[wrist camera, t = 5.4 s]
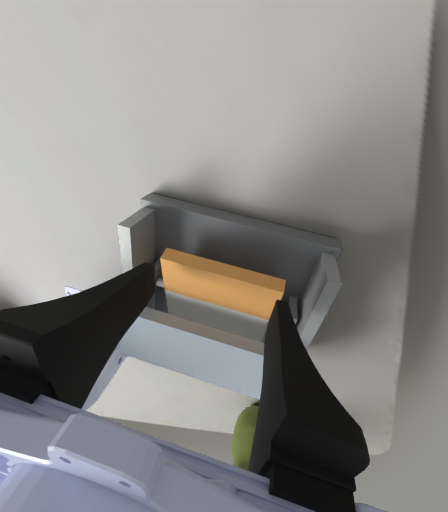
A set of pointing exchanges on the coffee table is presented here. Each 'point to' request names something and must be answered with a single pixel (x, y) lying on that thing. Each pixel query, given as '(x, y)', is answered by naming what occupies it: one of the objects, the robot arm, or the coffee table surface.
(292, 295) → the box
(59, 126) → the coffee table surface
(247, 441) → the pear
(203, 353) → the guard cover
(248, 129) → the coffee table surface
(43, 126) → the coffee table surface
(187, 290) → the rocker
